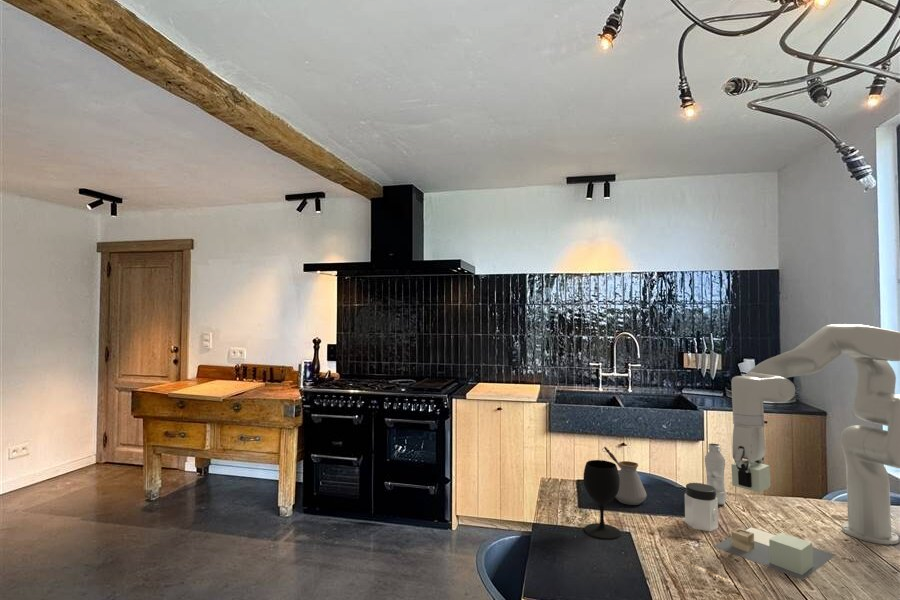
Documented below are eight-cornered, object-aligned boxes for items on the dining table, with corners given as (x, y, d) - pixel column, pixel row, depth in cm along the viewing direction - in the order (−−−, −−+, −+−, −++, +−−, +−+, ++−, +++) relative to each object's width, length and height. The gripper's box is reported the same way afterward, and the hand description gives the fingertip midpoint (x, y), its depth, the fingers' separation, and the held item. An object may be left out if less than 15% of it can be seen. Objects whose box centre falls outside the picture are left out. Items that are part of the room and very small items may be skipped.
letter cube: (738, 542, 132) (738, 527, 133) (754, 548, 129) (753, 532, 129) (731, 546, 130) (731, 531, 130) (747, 552, 127) (747, 536, 127)
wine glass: (621, 542, 134) (619, 471, 135) (583, 536, 137) (582, 467, 138) (620, 527, 144) (619, 460, 145) (585, 522, 147) (584, 457, 148)
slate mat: (750, 528, 143) (750, 526, 143) (836, 556, 125) (835, 554, 126) (713, 548, 130) (713, 545, 130) (802, 582, 113) (802, 579, 113)
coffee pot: (654, 505, 161) (653, 461, 162) (624, 508, 158) (623, 463, 159) (618, 484, 182) (617, 445, 182) (591, 487, 179) (590, 447, 180)
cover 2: (781, 555, 125) (780, 532, 125) (813, 566, 119) (812, 542, 120) (770, 563, 121) (769, 539, 121) (802, 575, 115) (801, 550, 116)
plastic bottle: (702, 503, 163) (701, 444, 164) (708, 498, 167) (707, 441, 168) (723, 508, 158) (721, 448, 159) (729, 503, 163) (727, 444, 164)
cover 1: (743, 480, 138) (742, 459, 139) (770, 486, 133) (769, 465, 133) (732, 485, 134) (731, 464, 135) (759, 492, 129) (758, 470, 129)
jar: (707, 535, 138) (706, 494, 139) (680, 525, 145) (679, 486, 146) (722, 528, 143) (721, 488, 144) (696, 518, 150) (695, 480, 150)
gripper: (747, 414, 142) (750, 473, 142) (719, 422, 132) (722, 486, 132) (775, 417, 136) (779, 480, 135) (748, 426, 126) (752, 493, 125)
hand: (751, 482), depth 134 cm, fingers closed on cover 1, 7 cm apart
